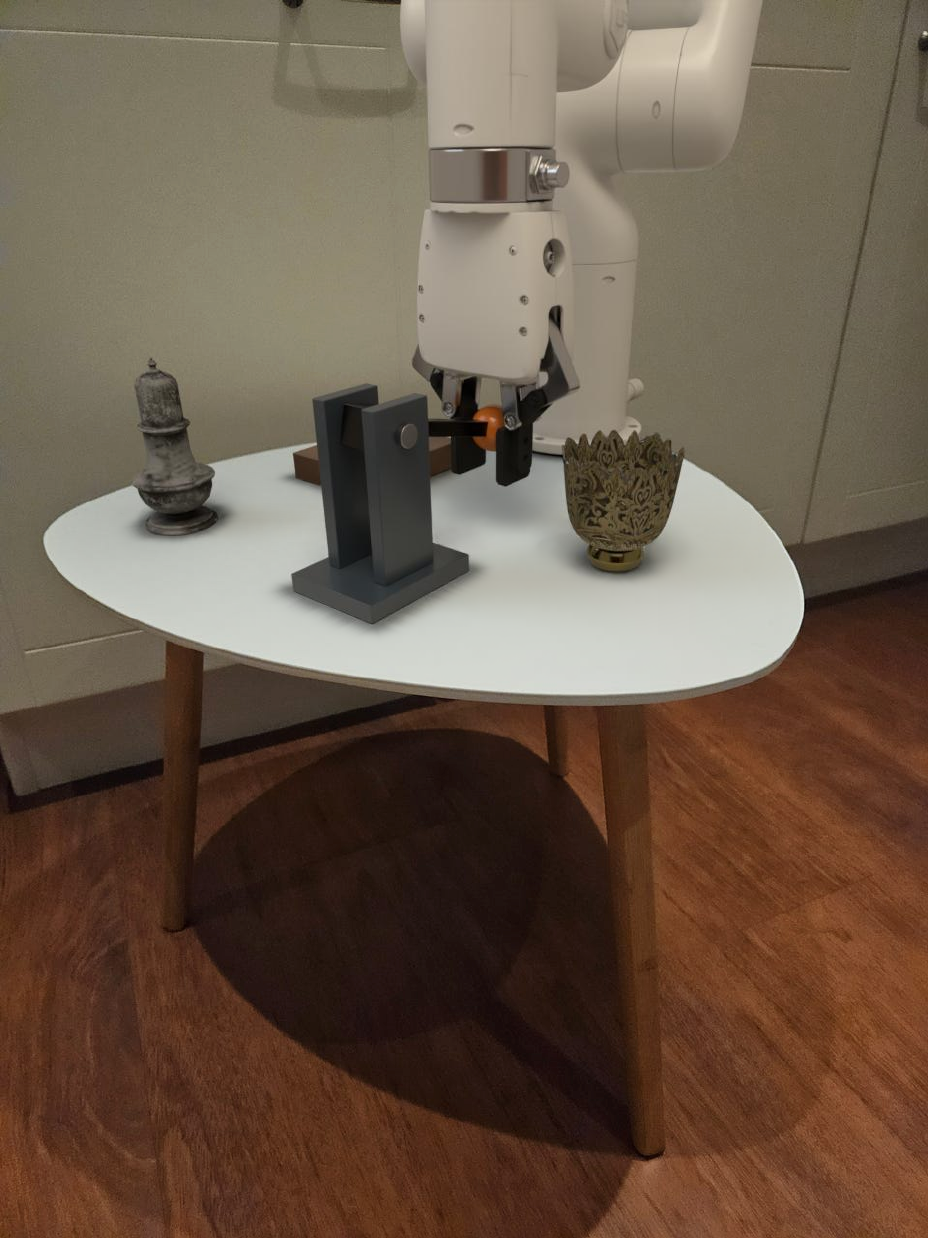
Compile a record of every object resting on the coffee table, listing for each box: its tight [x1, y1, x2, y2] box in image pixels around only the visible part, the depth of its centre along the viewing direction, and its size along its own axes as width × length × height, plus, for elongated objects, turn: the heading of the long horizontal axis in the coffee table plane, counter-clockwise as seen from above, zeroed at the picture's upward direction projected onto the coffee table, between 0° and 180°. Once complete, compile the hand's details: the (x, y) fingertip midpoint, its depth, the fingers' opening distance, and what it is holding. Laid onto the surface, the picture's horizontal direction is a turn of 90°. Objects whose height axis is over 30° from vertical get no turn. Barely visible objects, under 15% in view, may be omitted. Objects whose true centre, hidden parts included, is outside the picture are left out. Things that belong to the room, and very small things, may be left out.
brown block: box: [292, 437, 451, 486], centre depth 72 cm, size 11×9×4 cm
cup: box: [562, 430, 686, 572], centre depth 54 cm, size 8×7×8 cm
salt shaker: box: [130, 357, 219, 536], centre depth 61 cm, size 6×6×12 cm
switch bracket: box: [290, 382, 470, 624], centre depth 52 cm, size 9×7×12 cm
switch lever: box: [340, 403, 504, 453], centre depth 54 cm, size 15×3×3 cm, turn 141°
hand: (490, 472), depth 60 cm, fingers closed on switch lever, 3 cm apart
